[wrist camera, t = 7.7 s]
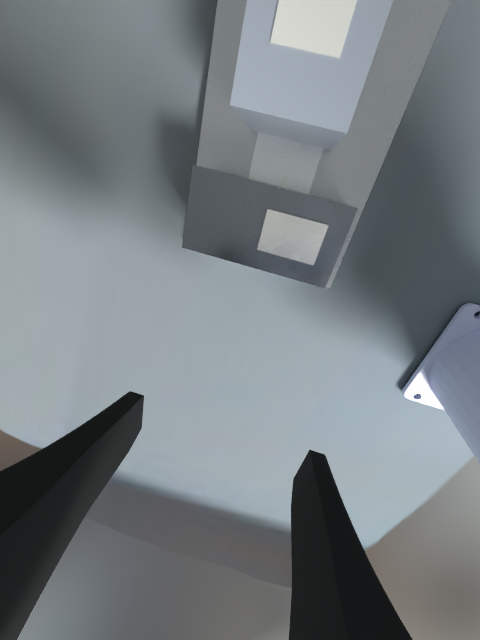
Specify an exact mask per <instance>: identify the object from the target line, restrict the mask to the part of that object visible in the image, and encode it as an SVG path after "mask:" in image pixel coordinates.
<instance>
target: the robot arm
mask: <svg viewBox="0 0 480 640" xmlns="http://www.w3.org/2000/svg"><path fill="white" fill-rule="evenodd" d="M478 311H480V305H477V304H473V303H467V304H464V305H462V306H461V307H460V308H459V310H458V311H457V313H456V314H455V316H454V317H453V318H452V320H451V321H450V323H449V324H448V325H447V327H446V328H445V330H444V331H443V333H442V334H441V335H440V337H439V338H438V340H437V341H436V343H435V344H434V345H433V347H432V348H431V350H430V351H429V352H428V354H427V355H426V357H425V358H424V360H423V361H422V362H421V364H420V365H419V367H418V368H417V370H416V371H415V372H414V374H413V375H412V377H411V378H410V379H409V381H408V382H407V384H406V385H405V387H404V388H403V390H402V394H403V396H404V397H405V398H407V399H409V400H413V401H416V402H419V403H423V404H426V405H429V406H432V407H436V408H439V409H442V410H445V411H446V413H447V415H448V416H449V418H450V419H451V421H452V422H453V424H454V425H455V427H456V428H457V430H458V431H459V433H460V434H461V436H462V437H463V439H464V440H465V442H466V443H467V445H468V446H469V448H470V449H471V451H472V452H473V454H474V456H475V457H476V459H477V460H478V461H479V463H480V314H479V315H477V316H474V314H475V313H476V312H478ZM415 394H418V395H416V396H414V395H415ZM143 401H144V396H143V395H140V394H137V393H134V392H131V391H130V392H128V393H127V394H125V395H124V396H123V397H121V398H120V399H119V400H117V401H116V402H114V403H113V404H112V405H110V406H109V407H107V408H106V409H105V410H103V411H102V412H100V413H99V414H97V415H96V416H95V417H93V418H92V419H90V420H89V421H87V422H86V423H84V424H83V425H81V426H80V427H78V428H76V429H75V430H73V431H72V432H70V433H68V434H67V435H65V436H64V437H62V438H60V439H59V440H57V441H55V442H54V443H52V444H50V445H49V446H47V447H45V448H43V449H42V450H40V451H38V452H36V453H35V454H33V455H31V456H29V457H27V458H25V459H23V460H22V461H20V462H18V463H16V464H14V465H12V466H10V467H8V468H6V469H4V470H2V471H0V640H17V638H18V636H19V634H20V633H21V631H22V628H23V627H24V625H25V623H26V621H27V619H28V617H29V615H30V613H31V612H32V610H33V608H34V606H35V604H36V602H37V600H38V599H39V597H40V595H41V593H42V591H43V589H44V587H45V586H46V583H47V582H48V580H49V578H50V576H51V575H52V573H53V571H54V569H55V567H56V566H57V564H58V562H59V560H60V558H61V557H62V555H63V553H64V551H65V550H66V548H67V546H68V544H69V542H70V541H71V539H72V537H73V536H74V534H75V532H76V531H77V529H78V527H79V525H80V524H81V522H82V520H83V518H84V517H85V515H86V514H87V512H88V511H89V509H90V507H91V506H92V504H93V503H94V501H95V500H96V499H97V497H98V496H99V494H100V493H101V491H102V490H103V488H104V487H105V485H106V484H107V483H108V481H109V480H110V478H111V477H112V475H113V474H114V472H115V471H116V470H117V468H118V467H119V465H120V464H121V462H122V461H123V459H124V458H125V456H126V455H127V453H128V452H129V450H130V448H131V447H132V445H133V443H134V441H135V439H136V437H137V436H138V434H139V432H140V430H141V428H142V415H143ZM291 540H292V599H291V615H290V631H289V640H412V638H411V636H410V635H409V633H408V631H407V630H406V628H405V626H404V625H403V623H402V621H401V620H400V618H399V616H398V614H397V613H396V611H395V609H394V607H393V605H392V603H391V602H390V600H389V598H388V596H387V594H386V593H385V591H384V589H383V587H382V585H381V583H380V581H379V579H378V577H377V576H376V574H375V572H374V570H373V568H372V566H371V564H370V562H369V560H368V558H367V555H366V553H365V551H364V549H363V547H362V545H361V543H360V541H359V538H358V536H357V534H356V532H355V529H354V527H353V525H352V523H351V520H350V518H349V516H348V513H347V511H346V508H345V506H344V504H343V501H342V499H341V496H340V494H339V491H338V488H337V486H336V483H335V481H334V478H333V475H332V473H331V470H330V467H329V464H328V461H327V459H326V456H325V455H324V454H321V453H318V452H315V451H312V450H309V452H308V454H307V456H306V458H305V459H304V461H303V463H302V465H301V466H300V468H299V470H298V472H297V474H296V475H295V477H294V480H293V490H292V502H291Z"/></svg>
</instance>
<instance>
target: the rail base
mask: <svg viewBox="0 0 480 640" xmlns="http://www.w3.org/2000/svg"><path fill="white" fill-rule="evenodd" d="M451 1H452V0H393V3H392V6H391V9H390V11H389V14H388V17H387V20H386V23H385V26H384V29H383V32H382V34H381V37H380V40H379V43H378V46H377V49H376V52H375V55H374V57H373V60H372V63H371V66H370V69H369V72H368V75H367V78H366V81H365V83H364V86H363V89H362V92H361V95H360V98H359V101H358V104H357V106H356V109H355V112H354V115H353V118H352V121H351V124H350V127H349V129H348V132H347V134H346V135H345V136H344V137H343V138H342V140H341V141H340V142H339V143H338V144H337V145H336V146H335V147H334V148H333V149H332V150H329V149H325V148H321V147H317V146H313V145H309V144H305V143H301V142H297V141H293V140H289V139H285V138H281V137H277V136H273V135H269V134H265V133H261V132H257V131H253V130H250V129H249V128H248V126H247V125H246V124H245V123H244V122H243V120H242V119H241V118H240V117H239V116H238V114H237V113H236V112H235V111H234V110H233V108H232V107H231V106H230V101H231V94H232V88H233V82H234V76H235V70H236V64H237V58H238V52H239V46H240V40H241V33H242V27H243V21H244V15H245V9H246V3H247V0H218V1H217V9H216V16H215V24H214V32H213V40H212V47H211V55H210V63H209V71H208V78H207V86H206V94H205V102H204V109H203V117H202V125H201V133H200V140H199V148H198V156H197V164H196V165H192V172H191V180H190V188H189V196H188V204H187V212H186V221H185V229H184V237H183V245H182V247H183V248H186V249H190V250H193V251H197V252H200V253H204V254H207V255H211V256H214V257H218V258H221V259H225V260H228V261H232V262H235V263H239V264H242V265H246V266H249V267H253V268H256V269H260V270H263V271H267V272H270V273H274V274H277V275H281V276H284V277H288V278H291V279H295V280H298V281H302V282H305V283H309V284H312V285H316V286H319V287H323V288H328V289H330V287H331V285H332V283H333V280H334V278H335V275H336V273H337V271H338V268H339V266H340V264H341V261H342V259H343V256H344V254H345V252H346V249H347V247H348V245H349V242H350V240H351V238H352V235H353V233H354V230H355V228H356V226H357V223H358V221H359V219H360V216H361V214H362V211H363V209H364V207H365V204H366V202H367V200H368V197H369V195H370V193H371V190H372V188H373V185H374V183H375V181H376V178H377V176H378V174H379V171H380V169H381V166H382V164H383V162H384V159H385V157H386V155H387V152H388V150H389V147H390V145H391V143H392V140H393V138H394V136H395V133H396V131H397V129H398V126H399V124H400V121H401V119H402V117H403V114H404V112H405V110H406V107H407V105H408V102H409V100H410V98H411V95H412V93H413V91H414V88H415V86H416V84H417V81H418V79H419V76H420V74H421V72H422V69H423V67H424V65H425V62H426V60H427V57H428V55H429V53H430V50H431V48H432V46H433V43H434V41H435V39H436V36H437V34H438V31H439V29H440V27H441V24H442V22H443V20H444V17H445V15H446V12H447V10H448V8H449V5H450V3H451Z"/></svg>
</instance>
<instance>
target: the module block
mask: <svg viewBox="0 0 480 640" xmlns="http://www.w3.org/2000/svg"><path fill="white" fill-rule="evenodd" d="M392 3H393V0H247V3H246V9H245V15H244V21H243V27H242V33H241V40H240V46H239V52H238V58H237V64H236V70H235V76H234V82H233V88H232V94H231V101H230V106H231V107H232V108H233V110H234V111H235V112H236V113H237V114H238V116H239V117H240V118H241V119H242V120H243V122H244V123H245V124H246V125H247V126H248V128H249V129H250V130H253V131H257V132H261V133H265V134H269V135H273V136H277V137H281V138H285V139H289V140H293V141H297V142H301V143H305V144H309V145H313V146H317V147H321V148H325V149H329V150H332V149H333V148H334V147H335V146H336V145H337V144H338V143H339V142H340V141H341V140H342V138H343V137H344V136H345V135H346V134H347V132H348V129H349V127H350V124H351V121H352V118H353V115H354V112H355V109H356V106H357V104H358V101H359V98H360V95H361V92H362V89H363V86H364V83H365V81H366V78H367V75H368V72H369V69H370V66H371V63H372V60H373V57H374V55H375V52H376V49H377V46H378V43H379V40H380V37H381V34H382V32H383V29H384V26H385V23H386V20H387V17H388V14H389V11H390V9H391V6H392Z"/></svg>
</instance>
